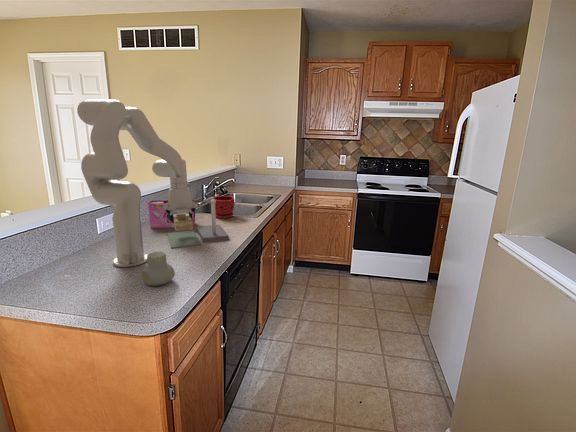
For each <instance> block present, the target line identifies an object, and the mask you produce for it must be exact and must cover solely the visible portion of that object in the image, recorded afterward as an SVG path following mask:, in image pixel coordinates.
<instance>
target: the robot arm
mask: <svg viewBox="0 0 576 432" xmlns="http://www.w3.org/2000/svg"><path fill="white" fill-rule="evenodd" d="M77 116H78V118H80V120H81V121H82V122H83V123H84V124H86V125H88V126H92V129H91V130H90V131H91V132H90V138H89V139H90V144H91V147H92V150H93V152H89V153H87V154H85V155H84V156H83V158H82V160H81V164H80V166H81V168H80V169H81V172H82V175H83V177H84V180H85V182H86V184H87V187H88V190H89V192H90V194H91V196H92V198H93V199H94V201H96V202H97V203H98V204H101V205H104V206H112V207H113V206H114V207H115V209H114V211H113V214H112V217H111V218H112V227H113V233H114V234H113V235H114V242H115V249H116V251H115V252H116V257H115V258H114V259H113V260H112V264H113V265H114V266H116V267H120V268H129V267H135V266H136V267H137V266H140V265H142V264H144V263H147V256H148V255H149V254H147V253H145V251H144V241H143V229H142V222H141V221H142V220H141V200H142V191H141V190H140V188H139V186H138V185H137V184H136V183H134V182H131V181H127V180H126V181H124V180H123V179H125V178H126V177H127V176H128V173H129V169H128V168H129V167H128V163H127V161H126V158H125V154H124V151H123V150H122V147H121V143H120V138H119V136H120V131H127V132H128V133H129V135H130V136H131V137H132V138H133V140H134V141H135V143H136V144H137V145H138V147H139V149H141V150H142V151H143V152H145V153H147V154H149V155H152V156H154V157H158V158H159V159H158V160H156V161H155V162H153V164H152V172H153V174H155V175H156V176H158V177H161V178H169V181H170V182H169V183H170V188H168V200H169V202H167V203H166V204H165V205H164V206H163V207H162V208H163V209H164V210H165V211H166V212H167V213H168V214H169V215H170V221H172V223H174V219H173V217H174V216H173V212H174V210H183V209H188V211H189V213H188V214H189V216H190V217H191V219H192V213H193V212H194V211H195V212H196V209H197V208H198V206H199V204H198V203H196V201H195V202H193V201H192V200H193V199H192V196H191V191H190V186H191V182H188V177H187V176H188V174H187V172H188V171H187V162H186V160H185V159H183V158H182V156H181V155H180V153H179V152H178V151H177V150H176V149H175V148H173V146H171V145H170V144H169V143H167V142H166V141H164V140H163V139H161V138H160V137H159V135H158V134H157V132H156V131H155V129H154V127H153V126H152V124H151V122H150V121H149V119H148V118H147V116H146V115H145V113H144V112H143V111H142V110H141V109H139V108H138V107H131V106H125V104H124V103H123V102H121V101H120V100H117V99H111V98H110V99H108V98H106V99H105V98H104V99H103V98H102V99H101V98H100V99H85V100H82V101H81V102H80V103H79V104H78V105H77ZM192 204H193V205H194V207H193V208H192V209H190V208H191V207H192ZM167 206H169V208H170V209H171V210H170V211H169V210H168V209H167V208H166V207H167Z"/></svg>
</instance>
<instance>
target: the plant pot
mask: <svg viewBox="0 0 576 432" xmlns="http://www.w3.org/2000/svg"><path fill="white" fill-rule="evenodd" d="M212 199H214V200H215V201H216V203H215V215H216V218H218V219H230V218H232V217H233V216H234V209H235V202H236V201H235V200H236V199H235V197H234V196H231V195H218V196H214V197H212ZM229 217H230V218H229Z"/></svg>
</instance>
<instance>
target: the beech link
mask: <svg viewBox="0 0 576 432" xmlns="http://www.w3.org/2000/svg"><path fill="white" fill-rule="evenodd" d="M173 216H174V217H173V219H174V223H173V224H174V226H175V227H174V230H175V232H181V231H190V230H194V227H193V221H192V219H191V217H190V216H189V214H188V213H183V214H173Z"/></svg>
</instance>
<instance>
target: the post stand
mask: <svg viewBox="0 0 576 432" xmlns="http://www.w3.org/2000/svg"><path fill="white" fill-rule="evenodd" d="M215 203H216V201H215V200H214V199H213V198H212V199H211V200H210V205H211V206H210V207H211V208H210V209H211V212H210V213H211V225H204V226H196V232H197V234H198V235H199V237H200V238H201V241H202V242H203V243H211V242H217V241H218V242H219V241H227V240H228V239H230V238H229V237H230V236H229V234H228V233H227V232H226V230H225V229H224V228H222V226H221V225H220V224H217V222H216V221H217V220H216V218H217V217H216V215H215ZM228 241H229V240H228Z"/></svg>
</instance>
